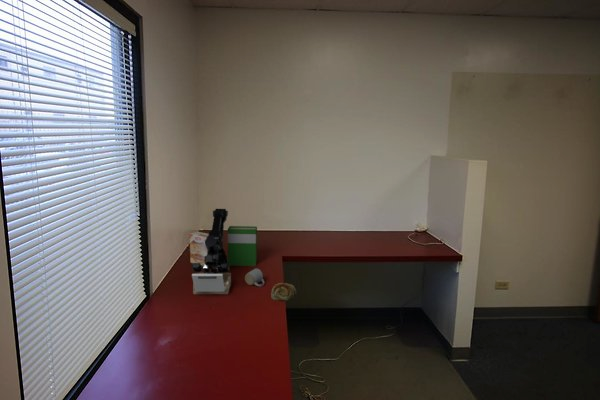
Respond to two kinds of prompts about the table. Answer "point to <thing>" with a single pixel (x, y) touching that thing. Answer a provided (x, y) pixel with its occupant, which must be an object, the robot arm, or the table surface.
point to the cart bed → (226, 284)
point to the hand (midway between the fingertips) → (209, 283)
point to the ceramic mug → (254, 277)
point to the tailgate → (208, 282)
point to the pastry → (283, 292)
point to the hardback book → (242, 246)
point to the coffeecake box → (198, 247)
